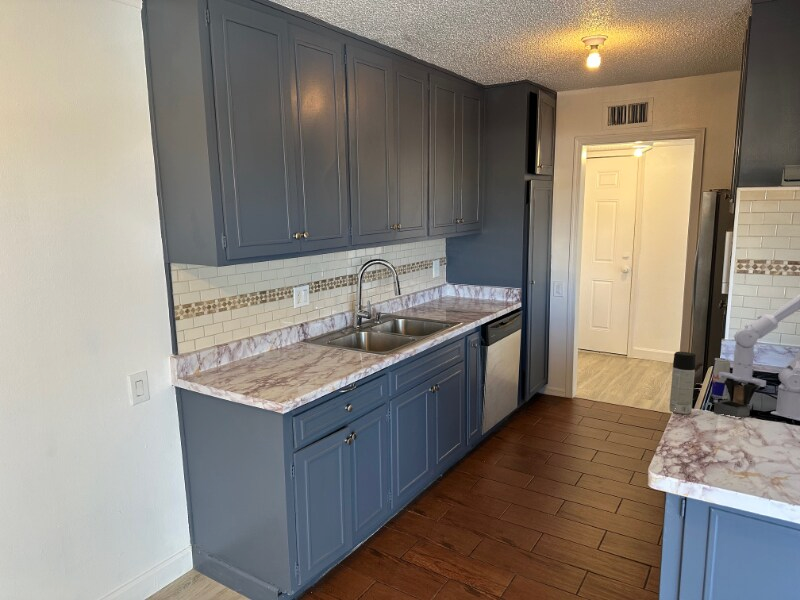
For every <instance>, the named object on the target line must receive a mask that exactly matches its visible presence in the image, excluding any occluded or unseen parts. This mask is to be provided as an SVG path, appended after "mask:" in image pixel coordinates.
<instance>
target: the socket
mask: <svg viewBox="0 0 800 600" xmlns="http://www.w3.org/2000/svg"><path fill="white" fill-rule="evenodd" d="M750 410H751V406H750V404H748V405H745V404H741V403H737V402H733V401H730V400H727V399H725V400H719V401H717V402H714V407H713V414H716V413H718V414H717V415H719V414H724V415H730V416H735V417H744V418H746V417H750Z"/></svg>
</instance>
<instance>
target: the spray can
mask: <svg viewBox="0 0 800 600" xmlns="http://www.w3.org/2000/svg"><path fill="white" fill-rule="evenodd" d="M696 357H697V356H696V354H695V353H692V352H688V351H676V352H675V353H674V354H673V363H672V373H671V385H670V386H671V387H670V388H671V389H670V395H669V396H670V397H669V398H670V399H669V411H670V412H672V413H675V414H680V415H689V414H691V413H692V409H693V395H694V383H695V375H696ZM675 408H676V409H675ZM674 410H675V411H674Z"/></svg>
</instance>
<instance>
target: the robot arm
mask: <svg viewBox="0 0 800 600" xmlns="http://www.w3.org/2000/svg"><path fill="white" fill-rule="evenodd" d="M799 310H800V293H799V294H798V295H796V296H795V297H793V298H792V299H791V300H790V301H788V302H786V303H785V304H783V305H782V306H781V307H779V308H778V309H777V310H776V311H774V312H772V314H767V313H764V314H762V315H761V314H758V315H757V316H756V319H755V320H754V321H752V322H750V323H749V324H747V323H746V324H745V325H744V326H743V327H745V328H739V329H738V330H737V331H735V334H734V335H733V338H734V340H735V346H734V347H735V348H734V350H733V351H734V352H733V365H732V373H731V372H730V373H725V372H719V378H725V379H726V381H724V383H725V385H726V387H727V389H728V396H729V401H733V395H734V386H735V385H739V383H743V386H744V390H745V397H744V404H745V405H750V402H751V400H752V398H753V395H754V394H755V392H756V391H757V389H758V388H759V387H761V388H762V387H763V388H764V387H766V386H767V380H764V379H760V378H757V377H753V370H754V369H753V368H754V357H755V356H754V355H755V351H754V350H755V345H756V344H757V342H758V340H759V339H762V338H764V337H765V336H767V335H768V334H770V333H771V332H773V331H774V330H776V329H777V328H778V325H779V322H781V321H783V320H784V319H786V318H789V316H792V315H793V314H794V313H796V312H798V311H799ZM777 376H778V380H779V382H781V383H780V384H779V385H778V389H777V399H776V410H775V411H770V414H771V415H775V416H780V417H782V418H783V417H784V418H787V419H790V420H791V419H792V420H796V421H799V422H800V349H799V350H798V352H797V353H796V355H795V357H794V358H793V359H792V360H791V361H789V362H788V363H787V366H786V367H784V368H782V369H781V370H779V372H778V375H777Z"/></svg>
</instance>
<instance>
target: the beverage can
mask: <svg viewBox="0 0 800 600" xmlns="http://www.w3.org/2000/svg"><path fill="white" fill-rule="evenodd" d="M730 369H731V359H728V358H722V357H720V358H719V357H715V358H714V362H713V371H712V373H713V374H712V386H711V397H712V398H713V399H714V398H716V399H725V400H727V399H728V396H729V392H728V389H727V387H726V385H725V383H724V381H726V379H725V378H719V372H725V373H731V370H730ZM716 399H715V400H716Z"/></svg>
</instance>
